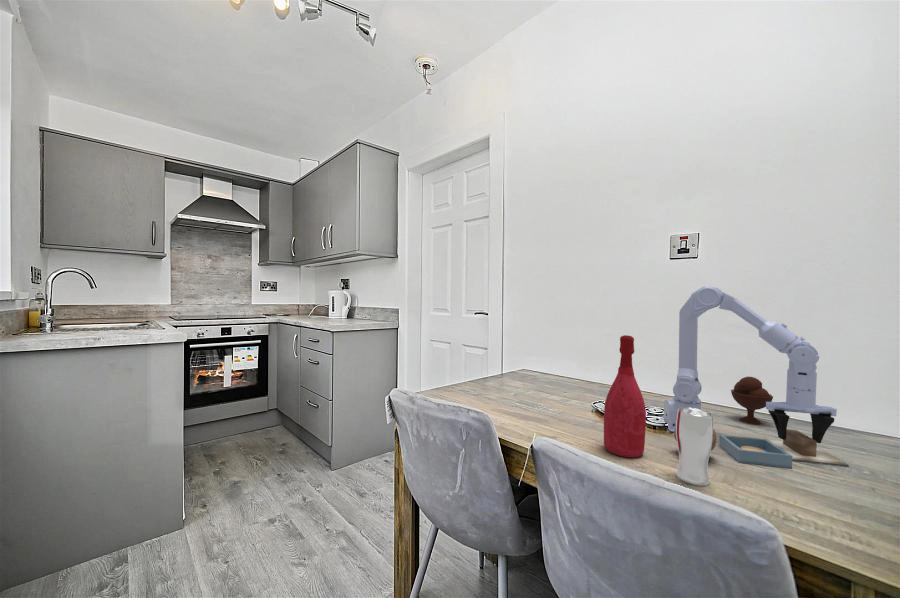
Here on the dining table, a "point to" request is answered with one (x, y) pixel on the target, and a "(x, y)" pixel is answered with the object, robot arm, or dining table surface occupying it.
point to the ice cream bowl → (750, 397)
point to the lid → (804, 448)
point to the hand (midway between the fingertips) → (799, 440)
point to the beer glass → (694, 444)
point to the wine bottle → (625, 408)
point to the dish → (755, 451)
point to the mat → (821, 462)
